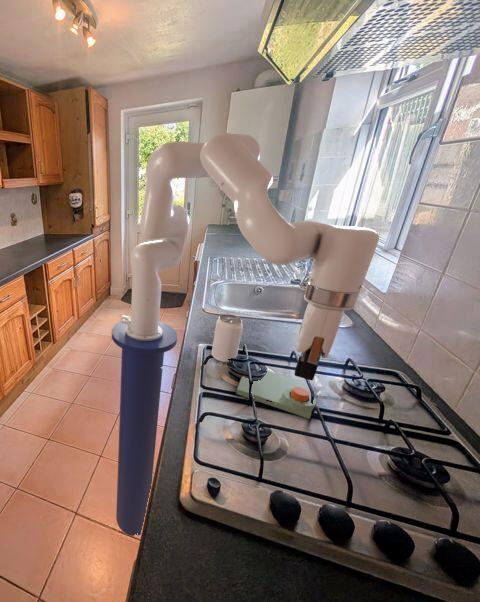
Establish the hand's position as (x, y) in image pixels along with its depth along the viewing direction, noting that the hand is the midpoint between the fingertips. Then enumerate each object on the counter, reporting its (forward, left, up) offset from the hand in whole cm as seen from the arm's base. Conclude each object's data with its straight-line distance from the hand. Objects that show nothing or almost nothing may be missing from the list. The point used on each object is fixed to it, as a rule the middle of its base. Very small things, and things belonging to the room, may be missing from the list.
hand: (303, 376), depth 63 cm
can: (-17, +12, -8) cm, 23 cm away
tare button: (0, 0, -5) cm, 5 cm away
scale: (-4, +3, -8) cm, 10 cm away
